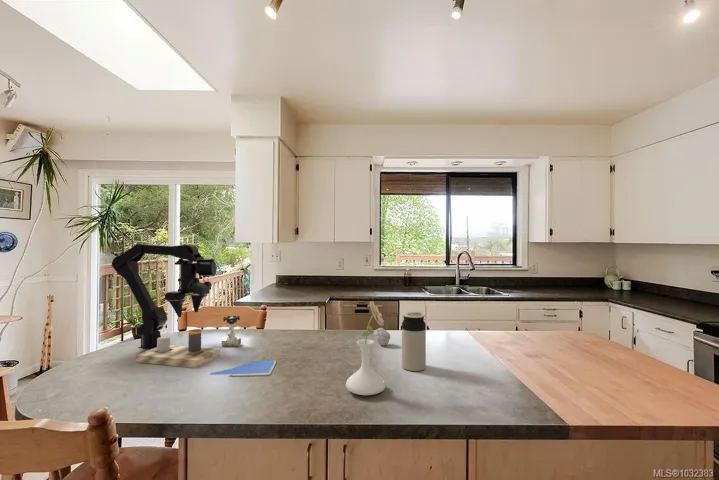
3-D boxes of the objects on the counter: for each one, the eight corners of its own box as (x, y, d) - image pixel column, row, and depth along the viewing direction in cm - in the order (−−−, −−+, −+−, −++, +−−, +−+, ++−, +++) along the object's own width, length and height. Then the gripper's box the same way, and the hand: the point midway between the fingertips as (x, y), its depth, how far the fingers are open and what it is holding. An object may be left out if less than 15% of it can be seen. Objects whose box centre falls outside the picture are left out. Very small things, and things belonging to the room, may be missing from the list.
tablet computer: (206, 379, 104) (206, 374, 104) (220, 364, 116) (220, 360, 117) (269, 377, 105) (269, 373, 105) (276, 363, 118) (276, 359, 118)
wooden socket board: (136, 363, 116) (136, 354, 116) (163, 352, 127) (163, 344, 127) (196, 369, 110) (196, 360, 110) (219, 357, 122) (219, 349, 122)
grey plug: (154, 358, 119) (154, 339, 119) (163, 355, 123) (163, 336, 123) (163, 359, 118) (163, 340, 118) (172, 355, 122) (172, 336, 122)
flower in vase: (373, 403, 87) (373, 307, 87) (337, 393, 93) (337, 303, 93) (395, 385, 98) (395, 300, 98) (362, 377, 104) (362, 297, 104)
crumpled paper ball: (379, 341, 142) (379, 325, 142) (393, 344, 137) (393, 328, 138) (371, 345, 137) (371, 328, 137) (385, 348, 133) (385, 331, 133)
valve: (236, 349, 131) (236, 319, 131) (219, 349, 131) (219, 319, 131) (242, 344, 138) (242, 315, 138) (226, 344, 138) (226, 315, 138)
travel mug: (430, 367, 113) (430, 313, 113) (417, 374, 107) (417, 317, 107) (410, 361, 118) (410, 310, 118) (397, 367, 112) (397, 314, 112)
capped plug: (185, 351, 116) (185, 331, 116) (193, 348, 120) (194, 328, 120) (195, 352, 115) (195, 332, 115) (203, 348, 119) (203, 329, 119)
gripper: (189, 278, 124) (188, 320, 123) (220, 274, 142) (220, 310, 142) (163, 277, 126) (163, 319, 126) (197, 273, 144) (197, 309, 144)
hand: (188, 314), depth 134 cm, fingers open, 9 cm apart
